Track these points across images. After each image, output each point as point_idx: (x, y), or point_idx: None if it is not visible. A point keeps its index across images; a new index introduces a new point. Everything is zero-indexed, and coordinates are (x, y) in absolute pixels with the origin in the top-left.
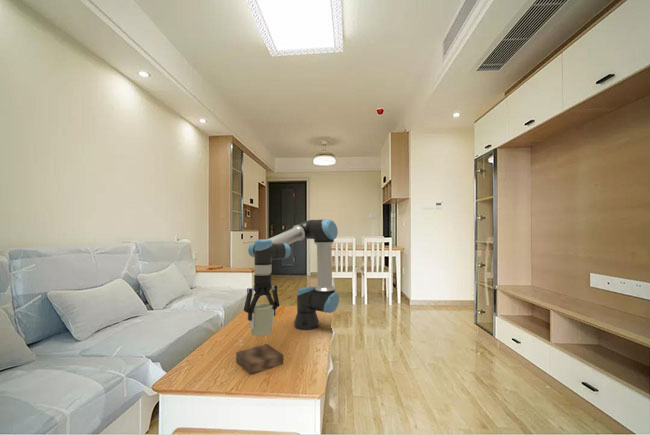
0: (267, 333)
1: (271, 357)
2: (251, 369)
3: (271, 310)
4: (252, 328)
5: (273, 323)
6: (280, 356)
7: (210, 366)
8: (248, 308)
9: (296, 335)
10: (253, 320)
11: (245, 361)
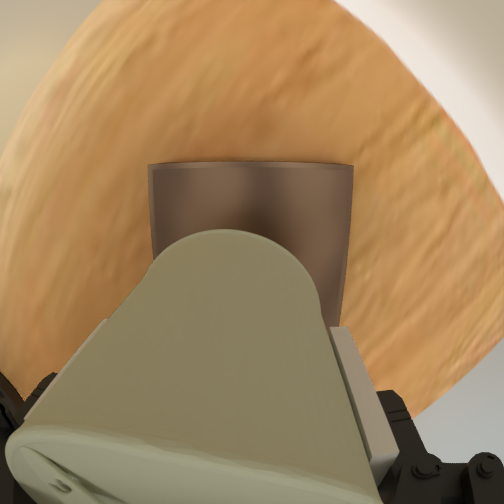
0: (213, 235)
1: (222, 167)
2: (343, 164)
3: (52, 389)
4: (345, 329)
5: (103, 322)
6: (168, 163)
7: (412, 337)
8: (484, 502)
9: (30, 364)
10: (356, 381)
11: (347, 232)
